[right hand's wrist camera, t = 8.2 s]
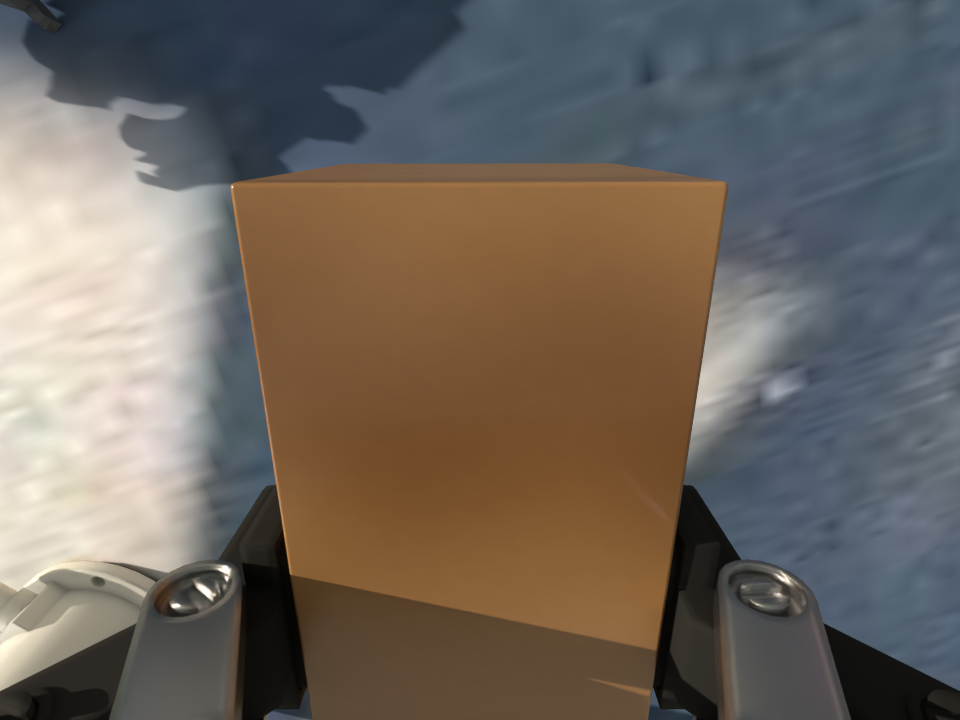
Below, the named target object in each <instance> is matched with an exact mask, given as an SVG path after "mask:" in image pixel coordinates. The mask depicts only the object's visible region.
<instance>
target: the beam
mask: <svg viewBox="0 0 960 720" xmlns="http://www.w3.org/2000/svg"><path fill="white" fill-rule="evenodd" d="M727 193H728V184H727V183H726V182H724V181H718V180H712V179H705V178H699V177H693V176H687V175H681V174H674V173H668V172H662V171H656V170H650V169H643V168H637V167H631V166H625V165H619V164H612V163H590V164H342V165H336V166H330V167H324V168H318V169H312V170H306V171H300V172H294V173H288V174H281V175H275V176H269V177H263V178H257V179H251V180H245V181H239V182H235V183H232V184H231V194H232V200H233V207H234V213H235V220H236V226H237V233H238V239H239V246H240V252H241V259H242V265H243V272H244V278H245V285H246V291H247V298H248V304H249V311H250V317H251V324H252V330H253V337H254V343H255V350H256V356H257V363H258V369H259V376H260V382H261V388H262V395H263V401H264V408H265V414H266V421H267V427H268V434H269V440H270V447H271V453H272V460H273V466H274V473H275V479H276V486H277V492H278V499H279V505H280V512H281V518H282V525H283V531H284V538H285V544H286V551H287V557H288V564H289V570H290V577H291V583H292V590H293V596H294V603H295V609H296V616H297V622H298V629H299V635H300V642H301V648H302V655H303V661H304V668H305V674H306V681H307V687H308V694H309V700H310V707H311V713H312V720H648V716H649V709H650V702H651V696H652V689H653V682H654V676H655V669H656V663H657V656H658V649H659V643H660V636H661V630H662V623H663V616H664V610H665V603H666V596H667V590H668V583H669V577H670V570H671V563H672V557H673V550H674V543H675V537H676V530H677V524H678V517H679V510H680V504H681V497H682V490H683V484H684V477H685V471H686V464H687V457H688V451H689V444H690V438H691V431H692V424H693V418H694V411H695V404H696V398H697V391H698V385H699V378H700V371H701V365H702V358H703V351H704V345H705V338H706V332H707V325H708V318H709V312H710V305H711V299H712V292H713V285H714V279H715V272H716V265H717V259H718V252H719V246H720V239H721V232H722V226H723V219H724V212H725V206H726V199H727Z"/></svg>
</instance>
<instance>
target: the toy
mask: <svg viewBox="0 0 960 720" xmlns="http://www.w3.org/2000/svg"><path fill="white" fill-rule="evenodd" d="M0 3H1V4H3V5H6V6H9V7H12V8H15V9H18V10H21V11H24V12H25V13H26V14H27V15H28V16H29V17H30V18H31V19H32V20H33V21H34V22H35V23H36V24H38V25H39V26H40V27H42V28H43V29H44V30H45V31H49V32H53V33H55V31H56V30H57V29H58V28H59V27H60V26H61V25H62V23H61V22H60V21H59V20H58V19H57V18H56V17H55V16H54V15H53V14H52V13H51V12H50V11H49V10H48V9H47V8H46V7H45V6H44V4H43V3H42V2H41V1H40V0H0Z"/></svg>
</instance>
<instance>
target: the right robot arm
mask: <svg viewBox="0 0 960 720" xmlns="http://www.w3.org/2000/svg"><path fill="white" fill-rule="evenodd" d="M306 687H307V681H306V674H305V668H304V661H303V655H302V648H301V642H300V635H299V629H298V622H297V616H296V609H295V603H294V596H293V590H292V583H291V577H290V570H289V564H288V557H287V551H286V544H285V538H284V531H283V525H282V518H281V512H280V505H279V499H278V492H277V486H276V485H269V486H266V487H265V488H264V490H263V491H262V492H261V494H260V496H259V497H258V499H257V500H256V502H255V503H254V505H253V506H252V508H251V510H250V511H249V513H248V514H247V516H246V517H245V519H244V521H243V522H242V524H241V525H240V527H239V528H238V530H237V531H236V533H235V535H234V536H233V538H232V539H231V541H230V542H229V544H228V546H227V547H226V549H225V550H224V552H223V553H222V555H221V556H220V558H219V560H204V561H198V562H194V563H191V564H187V565H184V566H182V567H180V568H178V569H176V570H173V571H171V572H170V573H168V574H167V575H165V576H164V577H162V578H161V579H159V580H158V581H157V582H155V581H154V580H152V579H150V578H148V577H146V576H144V575H142V574H141V573H139V572H136V571H133V570H130V569H128V568H125V567H122V566H118V565H114V564H109V563H104V562H93V561H78V562H67V563H63V564H60V565H56V566H52V567H50V568H48V569H46V570H44V571H42V572H40V573H39V574H37V575H36V576H35V577H34V578H33V579H32V580H30V581H29V582H28V583H27V584H26V585H25V586H24V587H23V588H22V589H21V590H20V591H19V592H17V591H16V590H14V589H12V588H10V587H9V586H7V585H5V584H3V583H2V582H0V720H268V719H267V714H268V713H270V712H271V711H273V710H274V709H299V708H300V704H301V701H302V698H303V695H304V692H305V689H306ZM653 688H654V691H655V694H656V697H657V700H658V703H659V706H660V709H685V710H687V711H688V712H690V713H691V714H693V719H692V720H960V691H958V690H956V689H954V688H952V687H950V686H948V685H946V684H944V683H942V682H940V681H938V680H936V679H934V678H932V677H930V676H928V675H926V674H924V673H922V672H920V671H918V670H916V669H914V668H912V667H910V666H908V665H906V664H904V663H902V662H900V661H898V660H896V659H894V658H892V657H890V656H888V655H886V654H884V653H882V652H880V651H878V650H876V649H874V648H872V647H870V646H868V645H866V644H864V643H862V642H860V641H858V640H856V639H854V638H852V637H850V636H848V635H846V634H844V633H842V632H840V631H838V630H836V629H834V628H832V627H830V626H828V625H826V624H824V623H823V620H822V617H821V613H820V610H819V606H818V603H817V600H816V598H815V596H814V594H813V592H812V590H811V589H810V588H809V587H808V586H807V585H806V584H805V583H804V582H803V581H802V580H801V579H799V578H798V577H796V576H795V575H793V574H792V573H790V572H789V571H787V570H784V569H782V568H780V567H778V566H776V565H773V564H769V563H766V562H762V561H756V560H741V559H740V557H739V556H738V554H737V553H736V551H735V549H734V548H733V546H732V545H731V543H730V542H729V540H728V539H727V537H726V535H725V534H724V532H723V531H722V529H721V528H720V526H719V525H718V523H717V521H716V520H715V518H714V517H713V515H712V514H711V512H710V510H709V509H708V507H707V506H706V504H705V503H704V501H703V500H702V498H701V496H700V495H699V493H698V492H697V490H696V489H695V488H694V487H693V486H690V485H684V484H683V490H682V497H681V504H680V510H679V517H678V524H677V530H676V537H675V543H674V550H673V557H672V563H671V570H670V577H669V583H668V590H667V596H666V603H665V610H664V616H663V623H662V630H661V636H660V643H659V649H658V656H657V663H656V669H655V676H654V682H653Z"/></svg>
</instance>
